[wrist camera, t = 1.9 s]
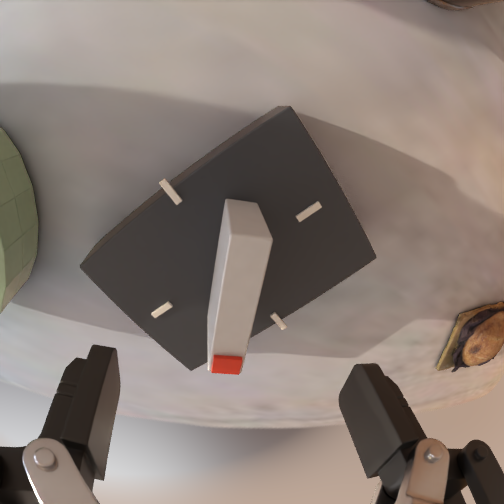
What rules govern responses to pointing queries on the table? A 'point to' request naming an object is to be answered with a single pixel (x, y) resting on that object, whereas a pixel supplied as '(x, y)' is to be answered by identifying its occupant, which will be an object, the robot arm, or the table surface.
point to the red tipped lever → (236, 284)
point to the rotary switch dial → (208, 230)
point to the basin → (15, 222)
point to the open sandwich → (474, 338)
